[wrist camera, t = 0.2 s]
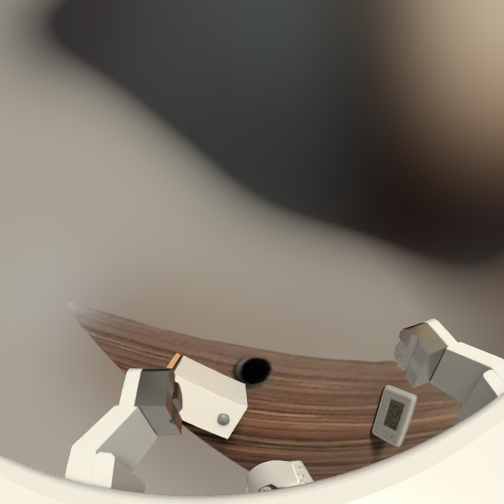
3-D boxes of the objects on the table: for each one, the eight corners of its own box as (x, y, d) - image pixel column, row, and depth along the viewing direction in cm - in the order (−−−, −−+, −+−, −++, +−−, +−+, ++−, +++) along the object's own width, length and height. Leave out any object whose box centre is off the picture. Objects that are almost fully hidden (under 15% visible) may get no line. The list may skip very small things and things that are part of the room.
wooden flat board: (183, 356, 61) (165, 387, 42) (169, 385, 60) (148, 422, 41) (174, 351, 60) (152, 380, 42) (160, 380, 60) (136, 416, 41)
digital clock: (384, 381, 63) (405, 395, 53) (408, 384, 64) (429, 397, 53) (361, 431, 62) (377, 450, 52) (385, 433, 62) (402, 450, 52)
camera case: (245, 384, 61) (247, 408, 48) (226, 416, 60) (225, 444, 48) (182, 354, 61) (170, 373, 48) (166, 388, 60) (152, 411, 47)
